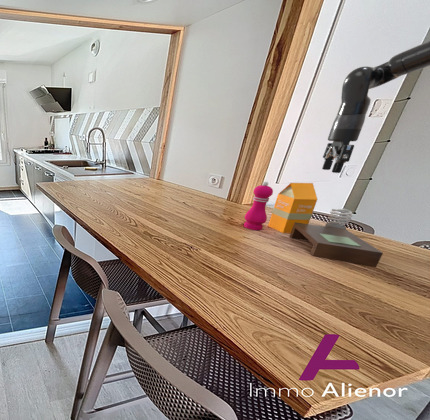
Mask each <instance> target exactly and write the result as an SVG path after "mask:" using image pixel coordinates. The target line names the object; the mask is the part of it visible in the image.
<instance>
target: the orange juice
mask: <svg viewBox="0 0 430 420" xmlns="http://www.w3.org/2000/svg"><path fill="white" fill-rule="evenodd" d="M317 202H318V196H317V193H316V189H315V185H314V182H290V183H289V184H288V185H287V186H285V188H283V189H282V190H281V191H280V192H279V193H277V196H276V200H275V203H274V205H273V209H272V211H271V215H270V220H269V222H268V225H267V226H268V228H271V229H273V230H275V231H277V232H280V233H281V234H291V231H292V228H293V225H294V223H295V222H296V223H303V224H310V221H311V218H312V215H313V212H314V210H315V207H316V206H317Z"/></svg>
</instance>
